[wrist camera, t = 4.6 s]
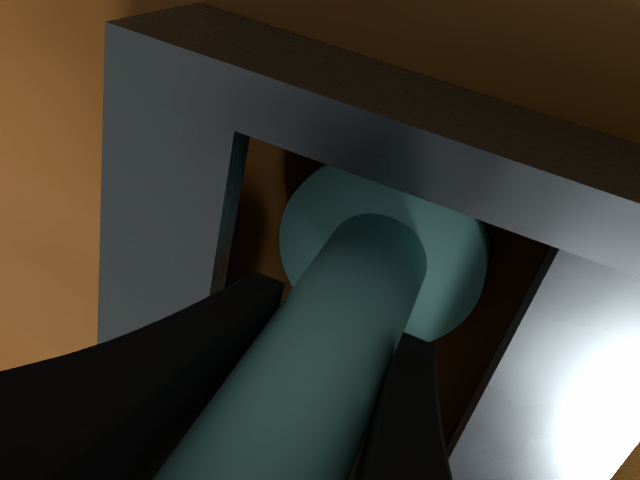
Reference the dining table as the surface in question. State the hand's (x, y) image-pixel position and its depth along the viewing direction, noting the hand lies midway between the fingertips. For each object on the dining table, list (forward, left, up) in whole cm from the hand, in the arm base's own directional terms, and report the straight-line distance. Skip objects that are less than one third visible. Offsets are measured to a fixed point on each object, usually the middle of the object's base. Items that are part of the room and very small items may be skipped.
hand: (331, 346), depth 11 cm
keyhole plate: (-4, 0, -4) cm, 6 cm away
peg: (0, 0, -4) cm, 4 cm away
